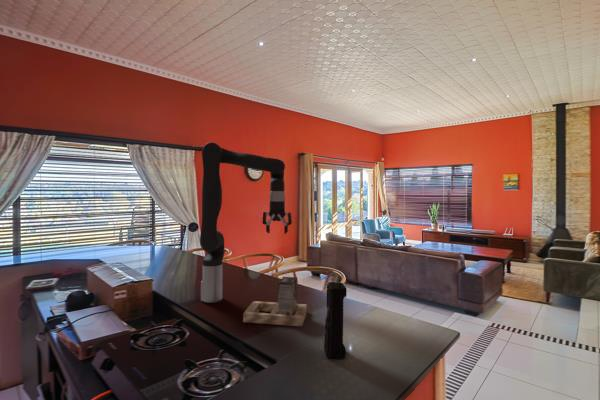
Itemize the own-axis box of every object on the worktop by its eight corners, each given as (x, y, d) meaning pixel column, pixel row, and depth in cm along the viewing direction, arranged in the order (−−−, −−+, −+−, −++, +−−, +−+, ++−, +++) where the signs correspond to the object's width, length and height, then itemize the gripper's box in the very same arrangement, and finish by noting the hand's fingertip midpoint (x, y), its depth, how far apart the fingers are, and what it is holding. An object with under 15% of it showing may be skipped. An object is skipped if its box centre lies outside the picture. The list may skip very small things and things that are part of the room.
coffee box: (282, 312, 132) (283, 276, 132) (297, 314, 131) (297, 277, 131) (277, 321, 123) (277, 282, 123) (293, 323, 122) (293, 283, 122)
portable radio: (322, 347, 103) (323, 274, 102) (340, 346, 104) (341, 273, 103) (326, 360, 95) (327, 281, 95) (345, 359, 96) (346, 280, 95)
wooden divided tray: (243, 322, 123) (243, 313, 122) (253, 308, 136) (253, 301, 136) (302, 326, 119) (302, 317, 119) (306, 312, 133) (306, 304, 133)
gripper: (261, 200, 147) (260, 233, 148) (290, 200, 145) (289, 234, 146) (265, 200, 155) (264, 231, 155) (292, 200, 153) (292, 232, 153)
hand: (277, 233), depth 150 cm, fingers open, 8 cm apart
